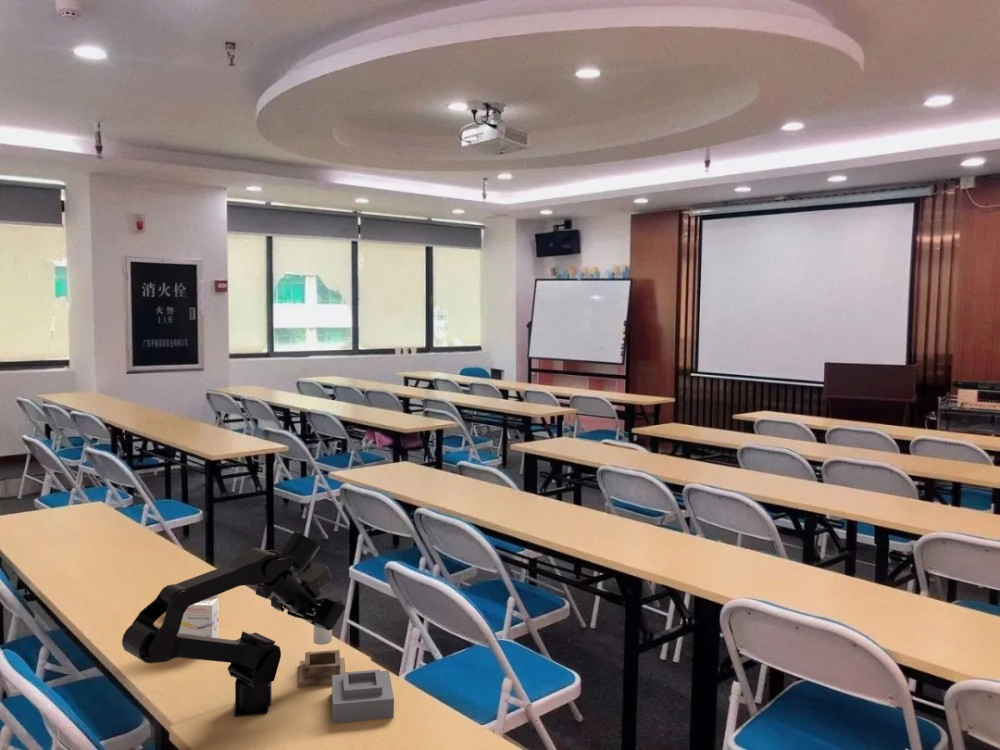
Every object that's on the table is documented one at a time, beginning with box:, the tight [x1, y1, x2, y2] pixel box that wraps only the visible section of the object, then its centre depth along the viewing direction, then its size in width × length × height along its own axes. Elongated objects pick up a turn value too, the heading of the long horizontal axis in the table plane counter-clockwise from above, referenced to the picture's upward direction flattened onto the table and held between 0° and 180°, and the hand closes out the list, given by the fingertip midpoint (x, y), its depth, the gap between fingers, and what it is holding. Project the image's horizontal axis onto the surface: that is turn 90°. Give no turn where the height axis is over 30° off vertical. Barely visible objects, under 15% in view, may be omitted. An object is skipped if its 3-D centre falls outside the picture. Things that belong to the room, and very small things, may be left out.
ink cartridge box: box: [178, 594, 220, 638], centre depth 177 cm, size 9×5×15 cm, turn 92°
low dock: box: [298, 649, 346, 687], centre depth 167 cm, size 10×10×4 cm
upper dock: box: [331, 669, 395, 725], centre depth 154 cm, size 12×12×6 cm
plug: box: [313, 604, 333, 646], centre depth 166 cm, size 4×4×8 cm
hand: (327, 622), depth 167 cm, fingers closed on plug, 4 cm apart
